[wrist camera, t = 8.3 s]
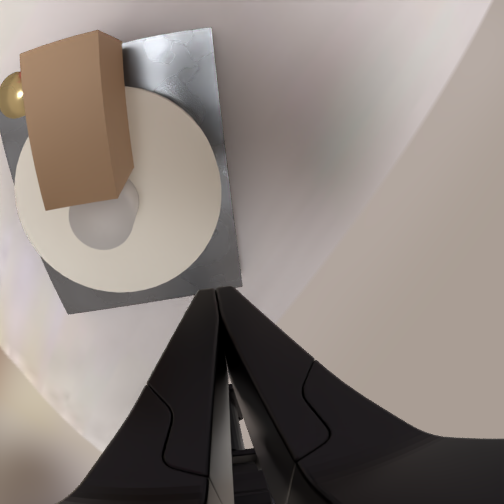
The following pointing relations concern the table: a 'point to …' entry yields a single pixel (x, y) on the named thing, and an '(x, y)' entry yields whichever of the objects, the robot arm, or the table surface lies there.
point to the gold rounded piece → (12, 96)
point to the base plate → (209, 120)
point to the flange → (110, 170)
